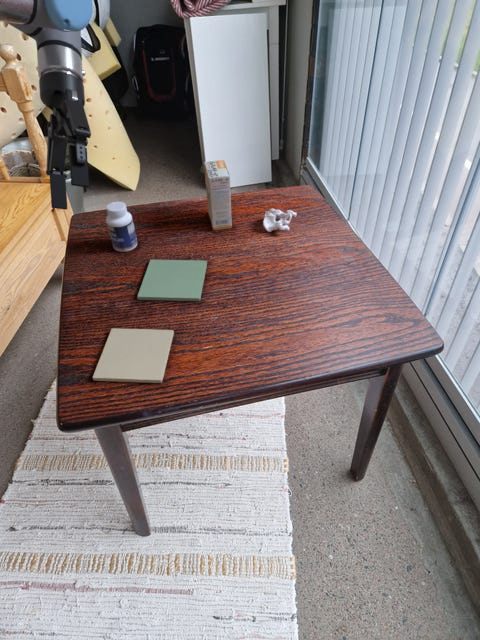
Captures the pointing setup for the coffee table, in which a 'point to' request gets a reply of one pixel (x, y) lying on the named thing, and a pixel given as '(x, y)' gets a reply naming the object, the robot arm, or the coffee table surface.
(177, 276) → the sage mat
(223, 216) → the supplement box
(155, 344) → the cream mat
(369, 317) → the coffee table surface
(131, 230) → the pill bottle
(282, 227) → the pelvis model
